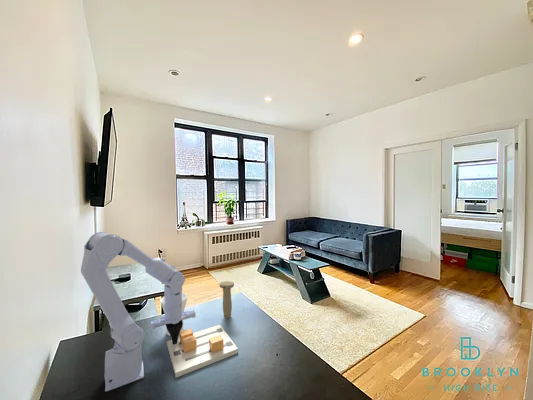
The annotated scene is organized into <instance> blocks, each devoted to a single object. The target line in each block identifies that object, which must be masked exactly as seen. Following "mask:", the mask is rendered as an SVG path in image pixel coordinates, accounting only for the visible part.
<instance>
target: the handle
mask: <svg viewBox="0 0 533 400" xmlns="http://www.w3.org/2000/svg"><path fill="white" fill-rule="evenodd" d="M219 287H220V288H221V289H222V313H223V317H224V318H225V319H229V318H231V317H232V310H233V306H232V305H233V304H232V303H233V301H232V288H234V287H235V282H234V281H229V280H228V281H221V282H219Z"/></svg>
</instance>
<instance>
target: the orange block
mask: <svg viewBox="0 0 533 400" xmlns="http://www.w3.org/2000/svg"><path fill="white" fill-rule="evenodd" d="M209 348H210V350H211V351H212V352H215V351H218V350H220V349H223V348H224V343H223V338H222V337H221V335H218V336H215V337H212V338H209Z"/></svg>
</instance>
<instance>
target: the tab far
mask: <svg viewBox="0 0 533 400" xmlns="http://www.w3.org/2000/svg"><path fill="white" fill-rule="evenodd" d="M193 333H194V332H193V330H192V328H188V329H184V330H183V331H181V332H180V334H179V337H180V342H181V345H182V339H184V338H187V337H190V336H193Z"/></svg>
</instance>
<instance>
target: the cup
mask: <svg viewBox="0 0 533 400" xmlns="http://www.w3.org/2000/svg"><path fill="white" fill-rule="evenodd" d="M188 298H189V296H188V294H187V293H186V292H182V312H185V308H186V305H187V300H188ZM159 303H160V305H161V307H162V310H163V312H164V314H165V296H162V297H161V298H160V299H159ZM182 322H183V323H184V320H182ZM184 330H185V329H184V325H183V326H182V328H181V330H180V332H181V331H184ZM165 334H166V335H167V336H169V337H171V335H170V333H169V332H168V330H167V329H166V332H165ZM179 335H180V333H179Z"/></svg>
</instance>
